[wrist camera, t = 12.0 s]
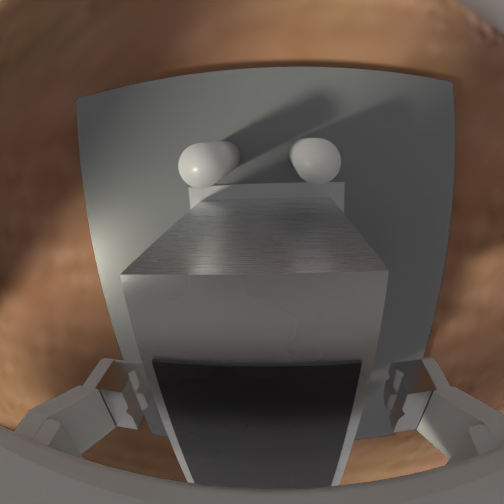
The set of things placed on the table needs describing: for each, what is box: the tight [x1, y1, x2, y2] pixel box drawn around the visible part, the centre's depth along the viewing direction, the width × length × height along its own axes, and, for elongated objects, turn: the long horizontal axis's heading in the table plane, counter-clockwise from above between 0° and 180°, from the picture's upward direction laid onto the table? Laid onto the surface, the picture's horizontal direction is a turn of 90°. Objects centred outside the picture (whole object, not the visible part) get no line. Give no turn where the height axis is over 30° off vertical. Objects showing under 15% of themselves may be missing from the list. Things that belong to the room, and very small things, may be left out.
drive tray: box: [76, 67, 455, 440], centre depth 13 cm, size 16×20×5 cm
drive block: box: [120, 197, 389, 489], centre depth 11 cm, size 5×10×7 cm, turn 3°
